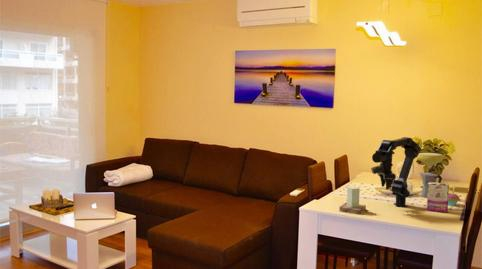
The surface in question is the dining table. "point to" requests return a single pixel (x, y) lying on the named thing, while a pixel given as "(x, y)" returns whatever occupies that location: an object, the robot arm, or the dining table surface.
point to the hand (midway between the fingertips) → (385, 188)
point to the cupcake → (452, 198)
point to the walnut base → (352, 209)
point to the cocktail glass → (430, 158)
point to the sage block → (353, 196)
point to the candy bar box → (437, 197)
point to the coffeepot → (428, 178)
